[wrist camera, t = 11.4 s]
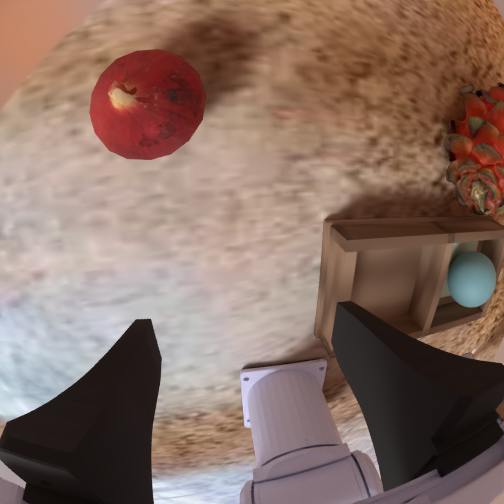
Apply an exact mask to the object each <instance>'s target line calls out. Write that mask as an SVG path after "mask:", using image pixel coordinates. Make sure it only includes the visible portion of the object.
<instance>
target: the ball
mask: <svg viewBox="0 0 504 504" xmlns="http://www.w3.org/2000/svg"><path fill="white" fill-rule="evenodd" d="M447 282H448V288H449V291H450V294H451V296H452V297H453V299H454V300H455V301H456V302H457V303H459V304H460V305H462V306H465V307H477V306H480V305H482V304H484V303H485V302H486V301H487V300H488V299H489V298H490V297H491V295H492V293H493V291H494V289H495V285H496V272H495V268H494V266H493V264H492V262H491V260H490V259H489V258H488V257H487V256H486V255H484V254H482V253H480V252H476V251H469V252H465V253H463V254H461V255H460V256H458V257H457V258H456V259H455V260H454V262H453V263H452V265H451V267H450V269H449V272H448V279H447Z"/></svg>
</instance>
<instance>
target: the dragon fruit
mask: <svg viewBox="0 0 504 504" xmlns="http://www.w3.org/2000/svg"><path fill="white" fill-rule="evenodd" d="M497 84H498V86H499V87H498V86H496V87H492V88H490V90H489V93H490V96H489V95H488V94H487V92H486V91H484V90H478V91H476V94H474V93H472V92H471V91H472V90H473V89H474V87H473V86H472V85H469V86H467V87H465V86H464V87H462V88H460V89H459V90H458V91H459V94H462V96H463V98H464V106H465V112H466V119H465V120H464V121H458V120H456V119H450V120H449V122H448V134H449V136H448V137H447V138H446V139H445V142H444V147H445V148H447V149H448V150H449V157H450V159H449V160H450V162H451V164H450V165H449V167H448V169H447V171H446V180H447V181H449V182H452V183H453V184H454V185H455V186H456V191H455V195H456V197H457V198H458V201H459V202H460V203H461V205H462V206H463V205H467V206H468V209H469V211H470V212H471V213H472V214H473V217H474V216H485V215H488V214H490V213H492V214H493V215H498V214H501V213H503V212H504V84H502V83H500V82H499V83H497ZM481 95H482V96H483V97H482V99H480V98H479V97H480V96H481ZM452 131H453V132H452ZM453 133H454V134H453Z"/></svg>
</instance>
